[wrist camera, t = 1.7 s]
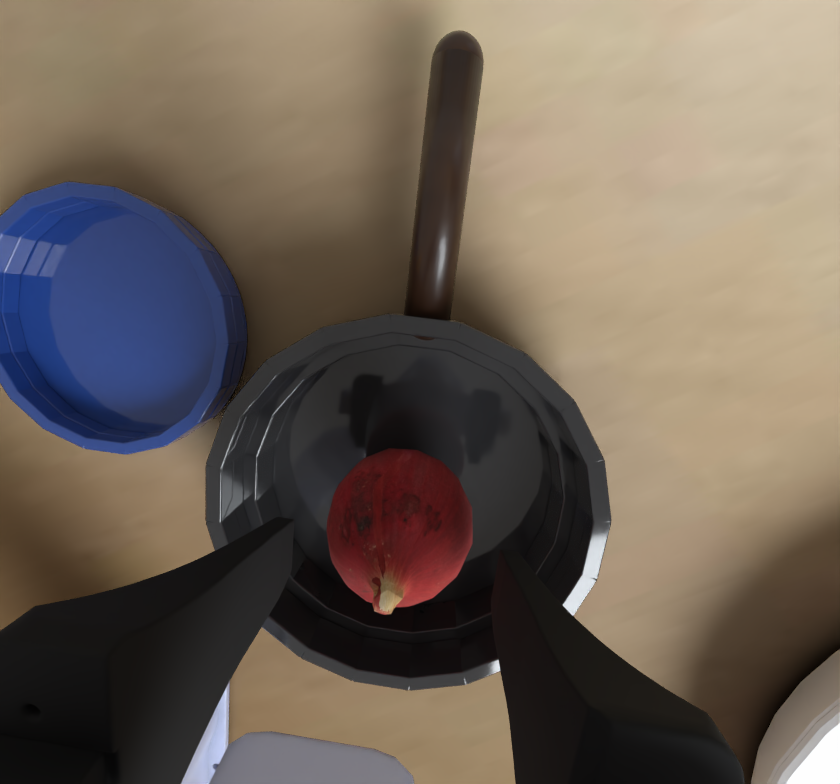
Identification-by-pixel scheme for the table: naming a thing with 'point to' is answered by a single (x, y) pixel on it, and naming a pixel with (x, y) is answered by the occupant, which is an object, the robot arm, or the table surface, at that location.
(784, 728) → the pan
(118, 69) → the table surface
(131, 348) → the saucer
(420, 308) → the pan handle
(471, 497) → the frying pan
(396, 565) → the onion
